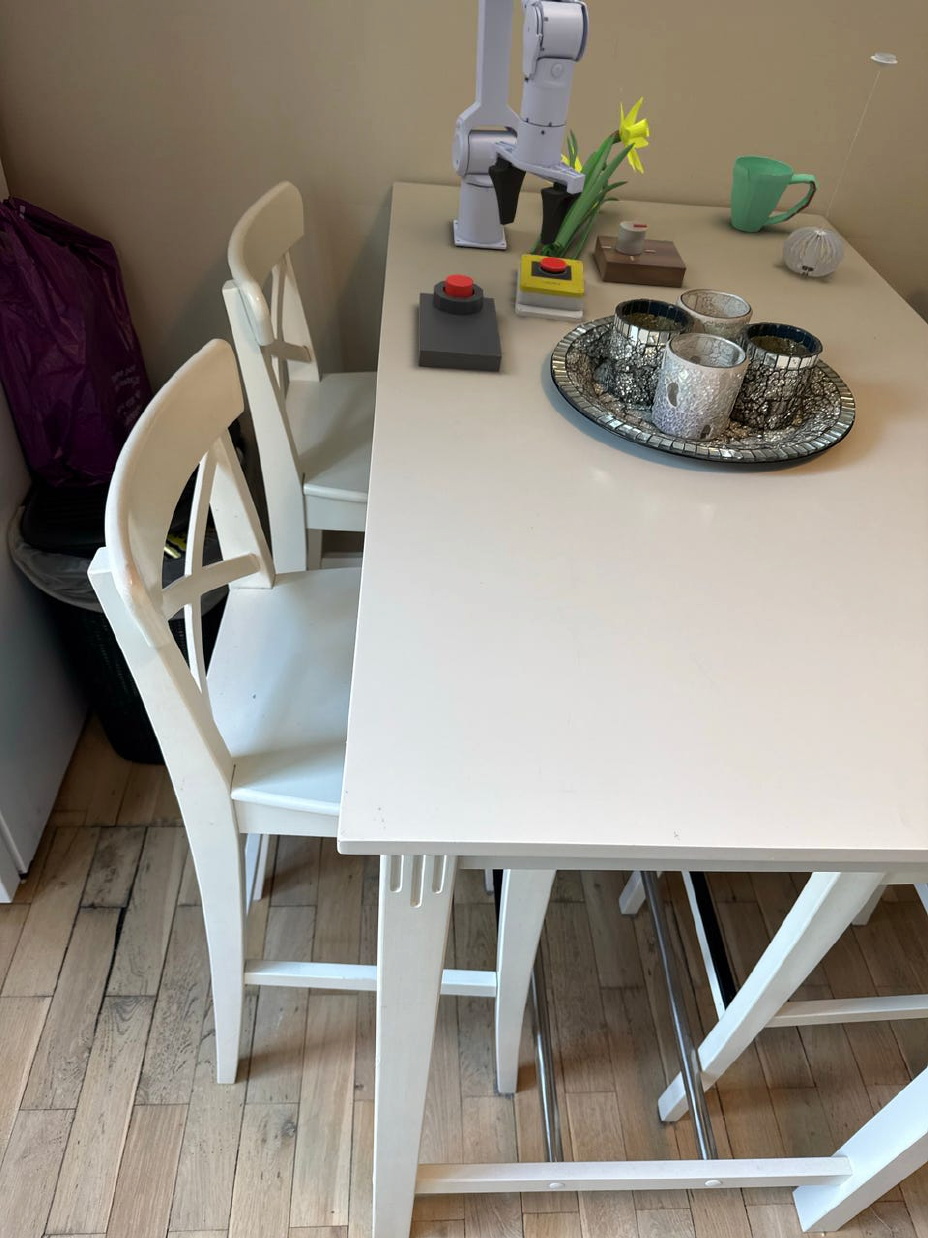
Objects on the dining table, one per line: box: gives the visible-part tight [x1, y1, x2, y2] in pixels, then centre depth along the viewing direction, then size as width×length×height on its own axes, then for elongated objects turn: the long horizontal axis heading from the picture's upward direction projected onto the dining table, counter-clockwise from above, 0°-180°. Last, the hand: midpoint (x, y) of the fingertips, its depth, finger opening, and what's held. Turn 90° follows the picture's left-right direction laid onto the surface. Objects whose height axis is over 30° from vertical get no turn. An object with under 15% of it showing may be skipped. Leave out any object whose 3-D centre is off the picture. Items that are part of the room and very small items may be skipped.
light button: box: [445, 274, 474, 298], centre depth 115 cm, size 4×4×2 cm
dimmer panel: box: [593, 234, 687, 288], centre depth 134 cm, size 10×12×3 cm
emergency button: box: [514, 253, 585, 323], centre depth 124 cm, size 9×4×15 cm
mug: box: [730, 155, 819, 233], centre depth 150 cm, size 15×10×10 cm
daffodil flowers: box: [528, 87, 650, 260], centre depth 141 cm, size 17×15×35 cm
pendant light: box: [782, 52, 899, 278], centre depth 132 cm, size 9×9×30 cm
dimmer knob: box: [615, 220, 648, 255], centre depth 132 cm, size 4×4×4 cm
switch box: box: [418, 280, 503, 373], centre depth 113 cm, size 17×10×4 cm, turn 2°
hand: (526, 232), depth 117 cm, fingers open, 7 cm apart
